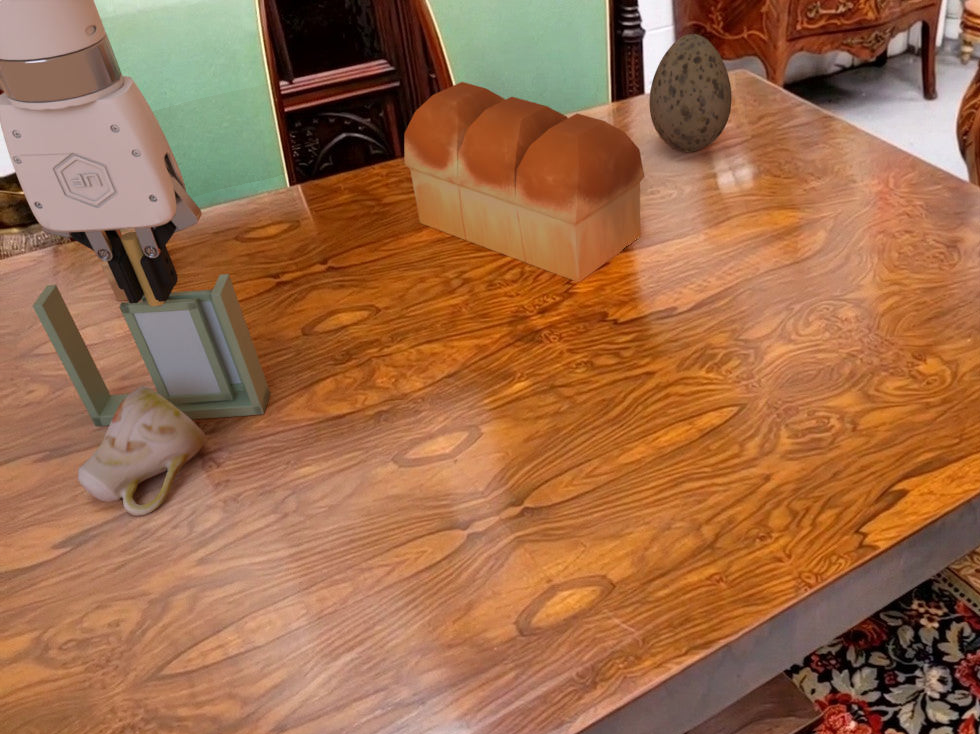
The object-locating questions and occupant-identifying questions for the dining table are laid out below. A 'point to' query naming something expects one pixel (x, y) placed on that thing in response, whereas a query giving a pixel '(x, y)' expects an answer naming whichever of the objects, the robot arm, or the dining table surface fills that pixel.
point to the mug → (141, 450)
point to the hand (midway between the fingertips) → (153, 292)
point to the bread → (524, 179)
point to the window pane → (174, 342)
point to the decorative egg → (690, 94)
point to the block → (114, 283)
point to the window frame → (102, 406)
